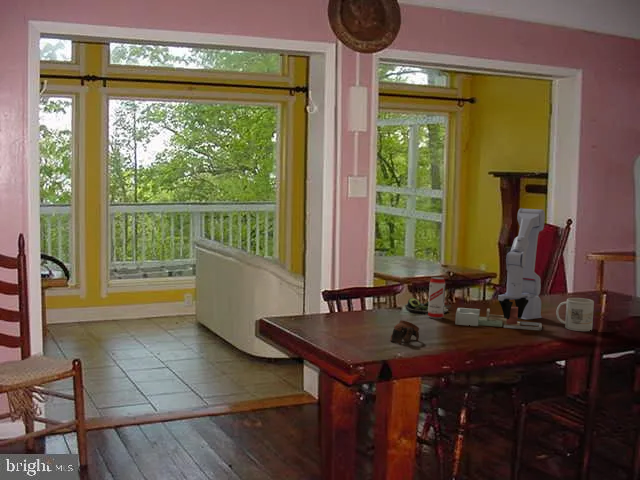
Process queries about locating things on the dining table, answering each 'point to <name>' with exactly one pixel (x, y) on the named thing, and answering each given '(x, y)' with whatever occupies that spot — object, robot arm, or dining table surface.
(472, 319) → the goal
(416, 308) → the salad plate
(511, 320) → the carriage
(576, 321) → the mug
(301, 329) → the dining table surface
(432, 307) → the beer can
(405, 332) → the brown animal figurine
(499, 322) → the track
